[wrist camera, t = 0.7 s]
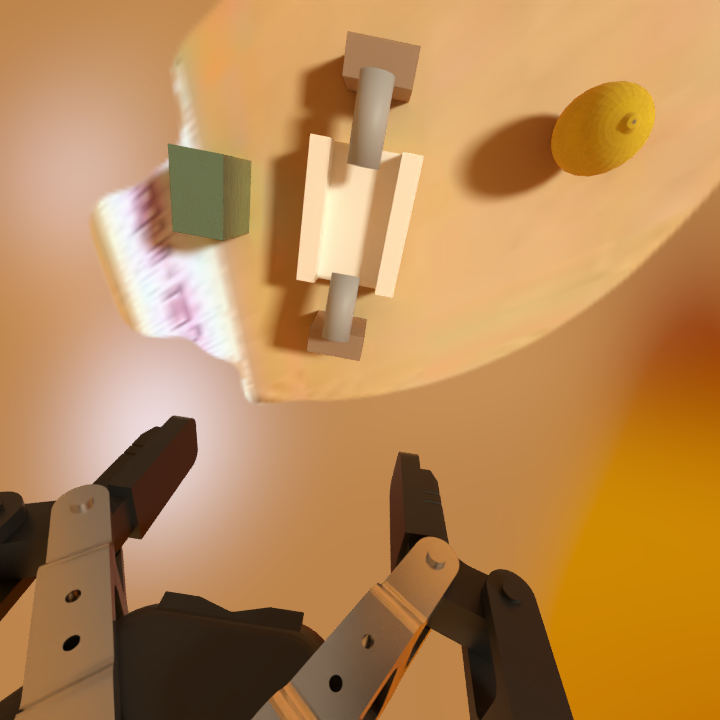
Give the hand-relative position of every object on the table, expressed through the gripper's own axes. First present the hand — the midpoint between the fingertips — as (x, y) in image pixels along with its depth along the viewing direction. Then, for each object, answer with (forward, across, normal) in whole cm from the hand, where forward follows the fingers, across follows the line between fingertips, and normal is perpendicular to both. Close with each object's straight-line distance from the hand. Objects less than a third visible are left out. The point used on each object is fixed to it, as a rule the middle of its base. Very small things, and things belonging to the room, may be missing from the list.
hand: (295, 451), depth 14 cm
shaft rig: (+24, 0, -7) cm, 25 cm away
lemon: (+24, -16, -15) cm, 33 cm away
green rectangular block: (+24, +12, -7) cm, 28 cm away
